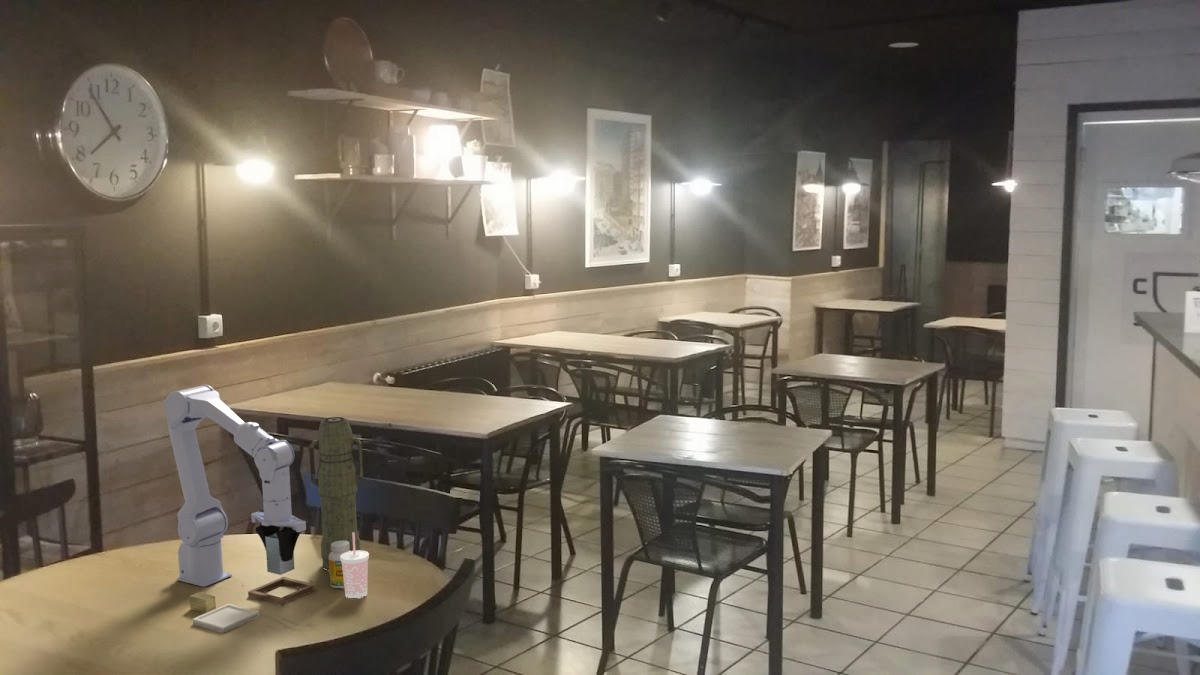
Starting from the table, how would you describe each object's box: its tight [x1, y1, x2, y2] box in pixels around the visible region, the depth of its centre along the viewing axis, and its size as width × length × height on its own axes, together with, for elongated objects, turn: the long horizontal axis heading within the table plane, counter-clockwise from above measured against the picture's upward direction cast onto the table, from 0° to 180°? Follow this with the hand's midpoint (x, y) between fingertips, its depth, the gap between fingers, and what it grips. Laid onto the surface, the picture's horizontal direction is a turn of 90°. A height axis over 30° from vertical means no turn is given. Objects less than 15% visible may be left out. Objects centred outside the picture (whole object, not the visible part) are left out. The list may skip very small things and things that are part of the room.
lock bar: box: [189, 591, 217, 614], centre depth 215 cm, size 5×2×3 cm, turn 60°
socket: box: [247, 576, 317, 606], centre depth 224 cm, size 10×10×1 cm
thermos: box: [308, 416, 364, 571], centre depth 238 cm, size 9×12×35 cm
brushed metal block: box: [265, 532, 295, 576], centre depth 223 cm, size 4×4×8 cm
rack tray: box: [192, 603, 260, 634], centre depth 209 cm, size 9×9×1 cm
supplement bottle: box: [328, 541, 350, 589], centre depth 228 cm, size 5×5×10 cm
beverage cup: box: [340, 532, 370, 599], centre depth 221 cm, size 6×6×14 cm
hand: (280, 558), depth 223 cm, fingers closed on brushed metal block, 4 cm apart
